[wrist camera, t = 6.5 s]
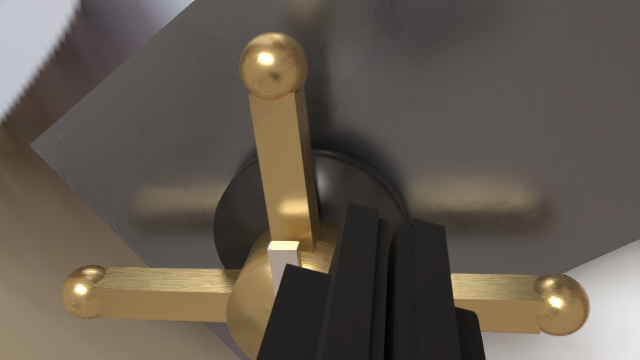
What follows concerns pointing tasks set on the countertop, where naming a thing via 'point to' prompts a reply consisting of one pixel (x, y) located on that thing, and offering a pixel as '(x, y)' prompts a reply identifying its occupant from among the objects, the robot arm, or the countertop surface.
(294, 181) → the capstan
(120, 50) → the countertop surface
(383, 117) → the stand
